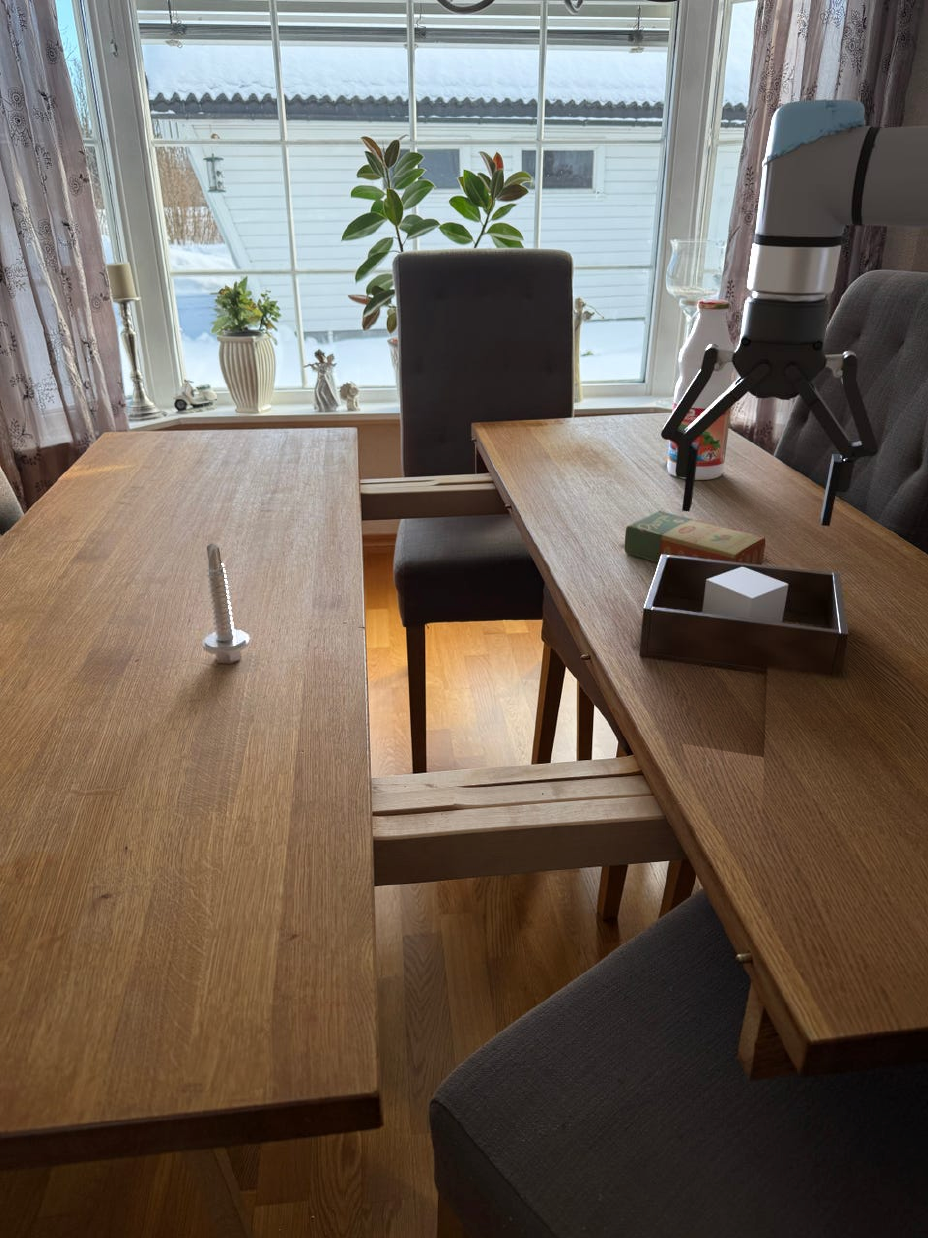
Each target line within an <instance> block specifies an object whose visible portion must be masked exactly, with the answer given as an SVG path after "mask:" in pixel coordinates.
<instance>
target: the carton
mask: <svg viewBox="0 0 928 1238" xmlns="http://www.w3.org/2000/svg"><path fill="white" fill-rule="evenodd" d="M624 534H625V535H624V552H625V554H627V555H630V556H635V557H638V558H642V559H645V560H648V561H651V562H655V563H658V564H659V561H660V558H661V555H662V554H665V555H674V556H684V557H693V558H702V559H711V560H721V561H730V562H739V563H749V564H758V565H763V563H764V557H765V549H766V537H765V536H762V535H758V534H754V533H751V532H746V531H742V530H737V529H734V528H730V527H725V526H721V525H718V524H713V523H710V522H705V521H701V520H697V519H693V518H689V517H686V516H683V515H677V514H673V513H669V512H666V511H663V510H657V511H655V512H653V513H652V514H650V515H647V516H645V517H643V518H641V519H639V520H637V521H634V522H631V523H630V524H628V525H627V526H626V528H625V533H624Z"/></svg>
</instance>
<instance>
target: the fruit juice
mask: <svg viewBox="0 0 928 1238" xmlns="http://www.w3.org/2000/svg"><path fill="white" fill-rule="evenodd" d="M729 309H730V300H727V299H717V298H706V299H704V298H703V299H699V300H698V301H697V304H696V311H697V312H698V315H697V317H696V320H695V323H694V324H693V327H692V330H691V333H690V334H689V336H688V338H687V340H686V341H685V343H684V344H683V346H682V347H681V349H680V350H679V354H678V360H677V361H678V362H677V363H678V370H679V378H678V379H677V382H676V384H675V387H674V393H673V401H672V413H673V412H674V410H675V408H676V407H677V405H678V404H679V402H680V401H681V399H682V397H683V396H684V394H685V393H686V391H687V390H688V388H689V386H690V385H691V383H692V382H693V380H694V379H695V377H696V375H697V374H698V372H699V371H700V369H701V366H702V362H703V358H704V353H705V351H706V349H707V347H708V346H709V345H710V344H716V345H717V346H718V347H719V348H725V349H730V350H736V348H735V346H734V344H733V342H732V340H731V335H730V331H729V325H728V321H727V313H728V312H729ZM734 370H735V368H734V366H733V363H732V362H727V363H726V364H725V365H724V366H723V368H722V369H721V370H720V371H713V373H712V375H711V378H710V379H709V381H708V383H707V384H706V386H705V387H704V389H703V390H702V392H701V393H700V395H699V397H698V398H697V400H696V401H695V403H694V404H693V406H692V407H691V409H690V410H689V412H688V413H687V415H686V417H685V418H684V420H683V421H682V423H681V424H680V426H679V428H681V429H684V430H685V429H686V428H687V427H688V426H689V425H690V424H692V423H693V422H694V421H695V420H696V419H697V418H698V417H699V416H700V415H701V414H702V413H703V412H704V411H705V410H706V409H707V408H708V407H710V406H711V405H712V404H713V403H714V402H715V401H716V400H717V399H718V398H719V397H720V396H721V395H722V394H723V393H724V392H725V391H726V390H728V389H729V387H730V386H731V385H732V384H733V383H732V376H733V373H734ZM672 413H671V414H672ZM731 413H732V406H731V407H730V408H729V409H728V410H727V411H726V412H725V413H724V414H723V415H722V416H721V417H719V418H718V419H717V420H716V421H715V422H714V423H713V424H712V425H711V426H710V427H709V428H708V429H707V430H705V431H704V432H703V433H702V434H701V435H700V436H699V437H698V438H697V439H696V440H695V441H694V442H693V443H699V448H698V457H697V465H696V473H695V481H705V480H714V479H718V478H720V476H722V475H723V473H724V468H725V461H726V452H727V445H728V438H729V436H728V435H729V430H730V429H729V428H730V421H731ZM668 442H669V444H668V453H667V463H666V467H667V471H668V473H669V474H670V475H672V476H673V477H677V476H676V472H675V470H676V462H677V453H678V447H677V445H676V444H675V443H674V442H672V441H670V440H669V441H668ZM677 478H678V477H677ZM679 478H680V479H685V480H686V478H685V477H679Z"/></svg>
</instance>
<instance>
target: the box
mask: <svg viewBox="0 0 928 1238" xmlns="http://www.w3.org/2000/svg"><path fill="white" fill-rule="evenodd" d="M740 567H745V568H748V569H750V570H753V571H756V572H758V573H761V574H763V575H766V576H769V577H771V578H774V579H776V580H779V581H782V582H784V583H787V584H788V590H787V596H786V602H785V608H784V614H783V619H782V623H779V622H771V621H763V620H755V619H747V618H739V617H731V616H723V615H715V614H707V613H702V610H703V602H704V594H705V586H706V579H709V578H712V577H714V576H717V575H720V574H723V573H726V572H728V571H731V570H734V569H737V568H740ZM846 613H847V612H846V607H845V598H844V592H843V585H842V577H841V573H839V572H832V571H831V572H830V571H824V570H823V571H821V570H812V569H805V568H795V567H794V568H793V567H784V566H775V565H768V564H767V565H765V564H762V565H758V564H749V563H739V562H730V561H721V560H711V559H702V558H693V557H684V556H674V555H665V554H662V555H661V558H660V561H659V563H658V564H657V567H656V570H655V573H654V576H653V579H652V582H651V585H650V588H649V591H648V594H647V597H646V599H645V603H644V606H643V609H642V619H641V630H640V631H641V632H640V642H639V652H638V653H639V654H638V657H640V658H641V657H642V658H648V659H655V660H662V661H668V662H669V661H670V662H677V663H684V664H692V665H697V666H704V667H705V666H706V667H713V668H718V669H719V668H720V669H727V670H733V671H739V672H740V671H741V672H747V673H754V674H755V673H756V674H761V675H768V667H769V668H770V667H771V668H778V669H784V670H790V671H791V670H793V671H799V672H805V673H814V674H819V675H826V676H827V675H828V676H836V677H841V673H842V669H843V664H844V658H845V655H846V651H847V643H848V639H849V627H848V621H847V620H848V619H847V614H846ZM784 622H786V623H784ZM787 622H788V623H787ZM794 623H795V624H794ZM796 623H797V624H796ZM802 624H803V625H802ZM818 626H819V627H818ZM825 627H826V628H825Z"/></svg>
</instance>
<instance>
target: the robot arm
mask: <svg viewBox="0 0 928 1238" xmlns="http://www.w3.org/2000/svg"><path fill="white" fill-rule="evenodd" d="M865 111H866V108H865V105H864V104H863V103H862V102H861V101H859V100H855V99H854V100H853V99H828V100H827V99H811V100H807V99H806V100H795V101H790V102H789V101H788V102H786V103H784V104H783V105H780V106H779V107H778V108H777V110H776V111H775V112H774V114H773V116H772V118H771V124H770V128H769V134H768V138H767V139H768V140H767V145H766V150H765V155H764V158H763V160H762V165H761V168H762V174H761V181H760V191H759V199H758V208H757V216H756V223H755V224H756V225H755V233H754V238H753V243H752V248H751V255H750V261H749V262H750V264H749V270H748V277H747V285H746V287H747V289H748V290H749V291H750V292H752V295H749V296H748V297H747V298H746V299H745V300H744V308H743V314H742V323H741V331H740V336H739V343H738V345H737V347H736V348H735V350H730V349H725V348H719V347H718V346H717V345H716V344H710V345H709V346H708V347H707V349H706V351H705V353H704V358H703V362H702V366H701V369H700V371H699V372H698V374H697V375H696V377H695V379H694V380H693V382H692V383H691V385H690V386H689V388H688V390H687V391H686V393H685V394H684V396H683V397H682V399H681V401H680V402H679V404H678V405H677V407H676V408H675V410H674V412H673V411H672V412H673V413H671V414H670V416H669V417H668V420H666V422H665V424H664V426H663V428H662V430H661V432H660V436H661V438H662V439H663V440H665V441H669V442H670V441H672V442H674V443H675V444H676V445H677V447H678V453H677V462H676V470H675V472H676V476H677V478H680V477H685V478H686V479H685V480H684V481H685V482H684V490H683V499H682V507H681V511H682V512H690V511H691V507H692V504H693V496H694V489H695V488H694V487H695V482H696V480H695V473H696V465H697V457H698V448H699V443H693V442H694V441H695V440H696V439H697V438H698V437H699V436H700V435H701V434H702V433H703V432H704V431H705V430H707V429H708V428H709V427H710V426H711V425H712V424H713V423H714V422H715V421H716V420H717V419H718V418H719V417H721V416H722V415H723V414H724V413H725V412H726V411H727V410H728V409H729V408H730V407H731V408H732V406H733V405H735V404H736V403H737V402H739V401H740V400H741V399H742V398H743V397H744V396H745V395H747V393H750V395H751V396H754V397H755V398H756V399H768V398H775V399H778V400H781V401H790V400H791V399H795V398H796V397H798V396H799V397H800V399H802V401H803V402H804V404H805V405H806V406H807V407H808V409H809V411H810V412H811V413H812V415H813V416H814V418H815V419H816V421H817V422H818V424H819V425H820V427H821V428H822V430H823V431H824V432H825V434H826V435H827V437H828V438H829V440H830V441H831V443H832V444H833V445H834V447H835V448H836V450H837V451H838V453H839V454H836V453H832V455H831V460H830V466H829V470H828V475H827V482H826V486H825V492H824V496H823V502H822V506H821V512H820V525H821V526H824V527H830V526H831V521H832V516H833V511H834V506H835V500H836V496H837V493H847V492H848V490H849V489H850V488H851V487H850V486H851V482H852V477H853V471H854V468H855V467H854V466H855V463H856V461H857V460H859V459H861V458H865V457H869V458H870V457H874V456H876V455H877V454H878V452H879V446H878V444H877V440H876V437H875V434H874V431H873V428H872V425H871V421H870V419H869V415H868V411H867V409H866V407H865V403H864V400H863V396H862V393H861V390H860V387H859V384H858V381H857V373H858V357H857V355H856V353H855V351H853V350H846V351H844V352H843V353H837V354H825V353H826V352H825V349H824V347H825V341H826V340H825V339H826V335H827V328H828V324H829V323H828V322H829V319H830V312H831V305H832V303H831V302H830V300H829V299H828V298H827V296H826V295H828V294H831V293H832V292H833V291H834V289H835V284H836V279H837V273H838V266H839V261H840V255H841V249H842V243H843V239H844V238H843V235H844V232H845V228H846V226H855V227H864V226H872V227H873V226H876V227H895V228H915V229H916V228H918V229H919V228H920V229H921V228H922V229H928V125H913V126H895V127H894V126H893V127H883V126H874V125H866V122H867V121H866V119H865ZM727 362H732V363H733V366H734V370H735V371H736V373H737V375H738V376H739V377H738V378H737V379H736V380H735V381H734V382H733V383H732V385H731V386H730V387H729V389H728V390H726V391H725V392H724V393H723V394H722V395H721V396H720V397H719V398H718V399H717V400H716V401H715V402H714V403H713V404H712V405H711V406H710V407H708V408H707V409H706V410H705V411H704V412H703V413H702V414H701V415H700V416H699V417H698V418H697V419H696V420H695V421H694V422H693V423H692V424H690V425H689V426H688V427H687V428H686V429H685V430H684V429H681V428H679V426H680V424H681V423H682V421H683V420H684V418H685V417H686V415H687V413H688V412H689V410H690V409H691V407H692V406H693V404H694V403H695V401H696V400H697V398H698V397H699V395H700V393H701V392H702V390H703V389H704V387H705V386H706V384H707V383H708V381H709V379H710V378H711V375H712V373H713V371H720V370H721V369H722V368H723V366H724V365H725V364H726V363H727ZM825 368H828V369H830V370H831V372H832V376H833V377H834V378H835V379H841V384H842V387H843V391H844V394H845V397H846V400H847V403H848V407H849V408H850V412H851V416H852V418H853V421H854V425H855V428H856V431H857V435H858V437H859V440H860V441H856V442H852V440H851V439H850V437H849V436H848V434H847V433H846V432H845V430H844V428H843V427H842V425H841V423H840V422H839V421H838V420H837V418H836V417H835V415H834V413H833V412H832V411H831V409H830V408H829V406H828V404H827V403H826V402H825V400H824V399H823V397H822V396H821V394H820V392H819V391H818V389H817V387H816V386H815V385H814V383H813V382H814V381H815V379H816V378H817V377H818V376H819V375H820V374H822V372H824V370H825ZM676 476H675V477H676Z"/></svg>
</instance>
